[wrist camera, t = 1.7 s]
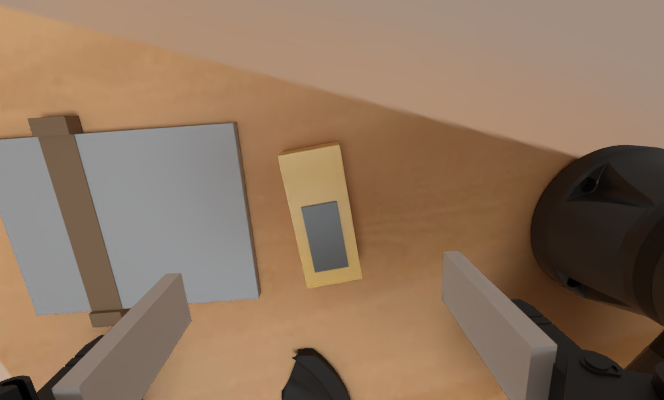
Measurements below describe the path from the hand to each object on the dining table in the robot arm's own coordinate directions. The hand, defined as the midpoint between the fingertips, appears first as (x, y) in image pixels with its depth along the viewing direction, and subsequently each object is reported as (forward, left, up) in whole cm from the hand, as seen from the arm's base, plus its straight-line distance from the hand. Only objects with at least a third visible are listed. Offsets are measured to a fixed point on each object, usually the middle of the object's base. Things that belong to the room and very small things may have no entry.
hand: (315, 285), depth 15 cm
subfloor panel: (+18, 0, -14) cm, 23 cm away
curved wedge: (+2, +24, -15) cm, 28 cm away
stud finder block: (0, 0, -15) cm, 15 cm away
